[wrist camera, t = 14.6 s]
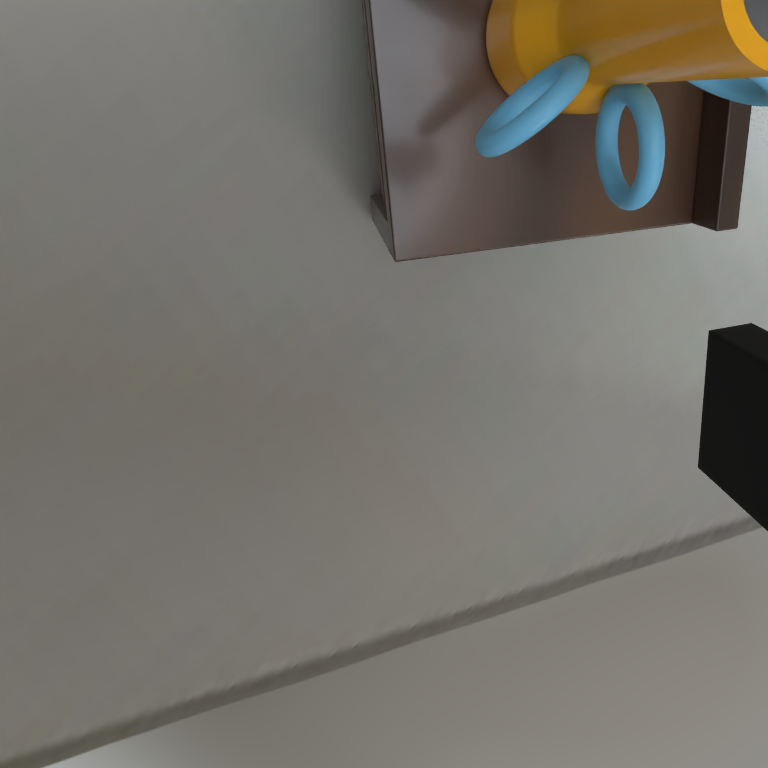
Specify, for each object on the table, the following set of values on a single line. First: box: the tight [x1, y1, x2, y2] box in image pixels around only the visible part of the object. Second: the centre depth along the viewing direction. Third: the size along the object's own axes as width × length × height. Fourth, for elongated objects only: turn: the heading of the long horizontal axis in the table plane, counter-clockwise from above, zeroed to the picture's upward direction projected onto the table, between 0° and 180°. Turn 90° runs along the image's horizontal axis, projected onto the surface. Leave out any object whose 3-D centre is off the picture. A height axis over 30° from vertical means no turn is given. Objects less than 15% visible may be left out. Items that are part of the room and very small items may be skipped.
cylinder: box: [475, 0, 768, 210], centre depth 20 cm, size 12×10×15 cm
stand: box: [362, 0, 752, 262], centre depth 31 cm, size 15×17×13 cm
